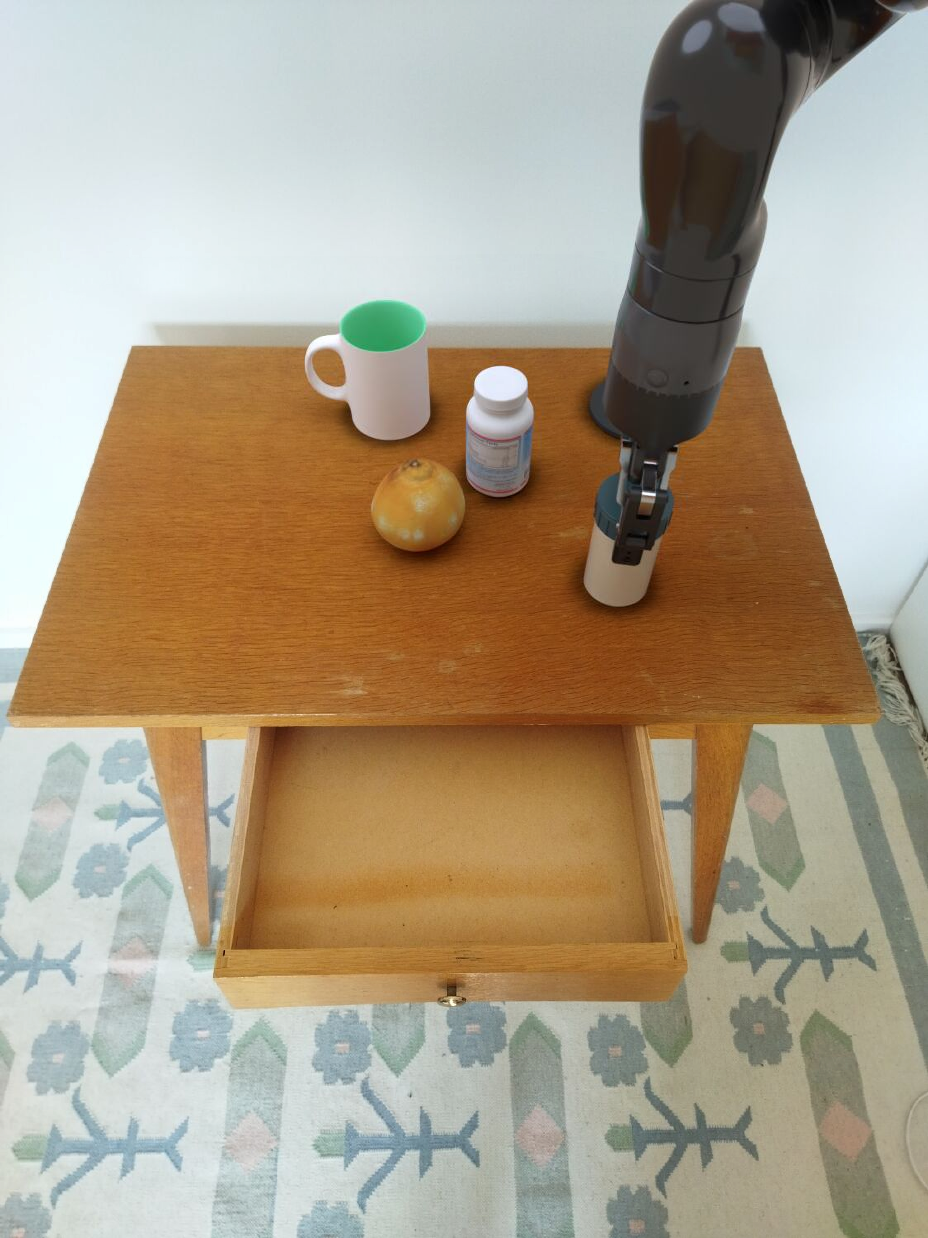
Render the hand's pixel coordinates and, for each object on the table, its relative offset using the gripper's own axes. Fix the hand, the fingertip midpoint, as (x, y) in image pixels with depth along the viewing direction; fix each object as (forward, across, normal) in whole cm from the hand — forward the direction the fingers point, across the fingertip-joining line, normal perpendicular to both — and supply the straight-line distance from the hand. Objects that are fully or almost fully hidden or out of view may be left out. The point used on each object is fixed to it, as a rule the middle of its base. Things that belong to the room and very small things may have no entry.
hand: (627, 526), depth 66 cm
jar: (+7, 0, 0) cm, 7 cm away
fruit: (+7, +3, +18) cm, 20 cm away
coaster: (+7, +23, -1) cm, 24 cm away
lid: (-3, 0, 0) cm, 3 cm away
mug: (+8, +18, +26) cm, 32 cm away
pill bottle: (+7, +11, +12) cm, 18 cm away
